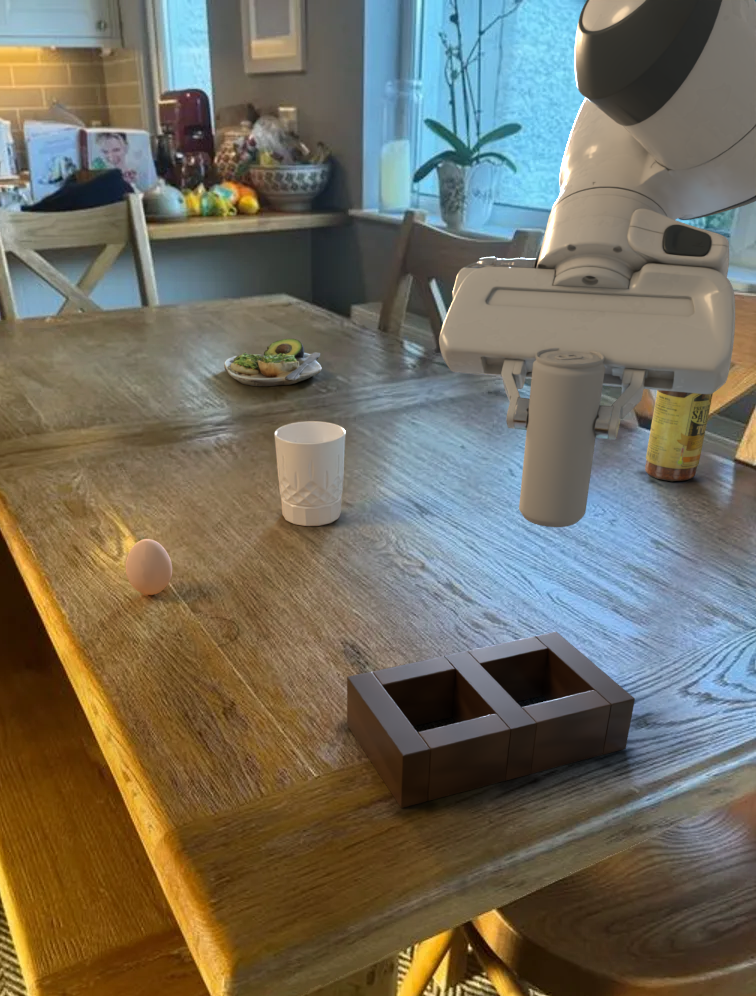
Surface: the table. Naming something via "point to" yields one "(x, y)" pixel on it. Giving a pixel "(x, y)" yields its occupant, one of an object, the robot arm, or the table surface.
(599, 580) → the table surface
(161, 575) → the egg
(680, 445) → the sauce bottle
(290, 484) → the white cup
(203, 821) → the table surface
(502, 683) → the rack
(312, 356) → the avocado toast plate
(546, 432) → the beverage can
